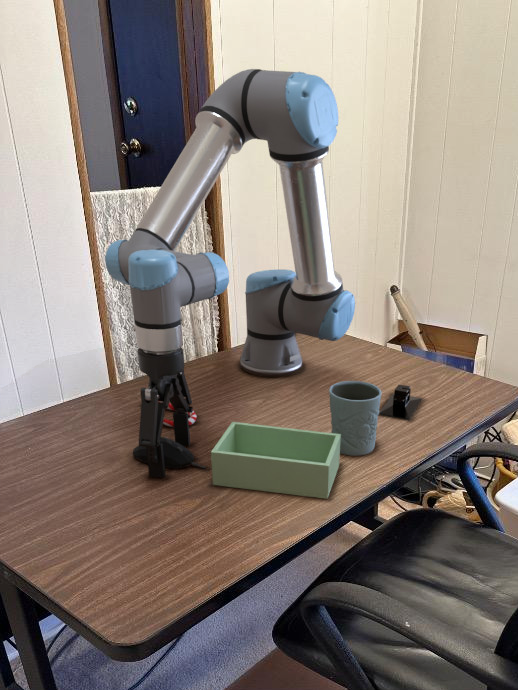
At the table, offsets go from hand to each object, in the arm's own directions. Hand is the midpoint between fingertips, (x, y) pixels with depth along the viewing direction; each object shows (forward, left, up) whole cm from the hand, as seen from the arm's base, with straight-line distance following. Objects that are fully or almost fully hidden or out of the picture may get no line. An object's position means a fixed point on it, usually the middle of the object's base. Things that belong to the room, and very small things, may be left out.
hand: (170, 459), depth 128 cm
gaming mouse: (0, 0, 0) cm, 0 cm away
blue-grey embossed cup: (-15, +32, 0) cm, 35 cm away
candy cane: (-19, -8, 0) cm, 20 cm away
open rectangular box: (0, +21, 0) cm, 21 cm away
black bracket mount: (-37, +40, 0) cm, 54 cm away
